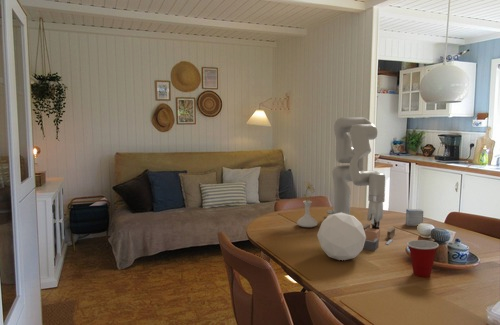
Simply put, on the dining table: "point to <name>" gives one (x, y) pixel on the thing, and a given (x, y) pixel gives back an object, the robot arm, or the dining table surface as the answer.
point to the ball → (341, 236)
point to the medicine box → (414, 217)
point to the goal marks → (389, 241)
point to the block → (372, 234)
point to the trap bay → (371, 245)
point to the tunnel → (389, 233)
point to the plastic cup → (422, 256)
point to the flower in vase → (307, 210)
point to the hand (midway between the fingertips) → (375, 234)
